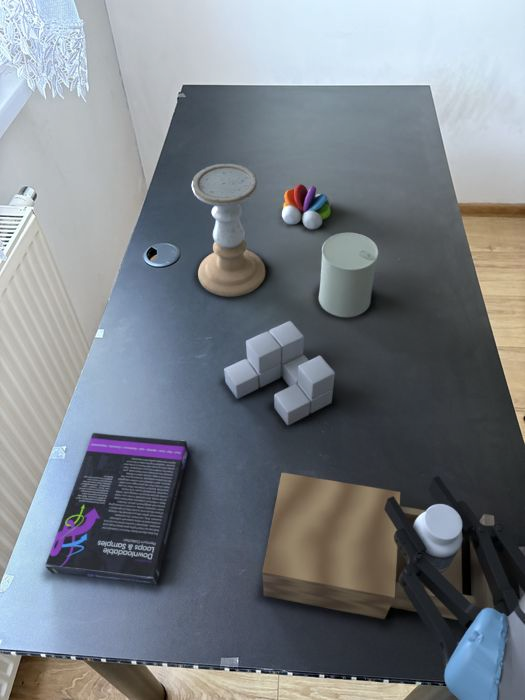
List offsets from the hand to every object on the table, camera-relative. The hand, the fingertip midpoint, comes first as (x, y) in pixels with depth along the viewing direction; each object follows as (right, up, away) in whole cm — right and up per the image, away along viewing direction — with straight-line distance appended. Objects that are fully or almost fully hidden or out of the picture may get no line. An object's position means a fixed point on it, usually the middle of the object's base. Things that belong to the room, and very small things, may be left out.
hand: (411, 493), depth 68 cm
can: (-2, +25, +37) cm, 45 cm away
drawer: (+5, -12, +5) cm, 14 cm away
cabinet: (-8, -10, +8) cm, 16 cm away
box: (-36, -5, +13) cm, 38 cm away
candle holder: (-23, +30, +42) cm, 56 cm away
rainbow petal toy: (-8, +43, +53) cm, 68 cm away
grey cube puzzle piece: (-15, +9, +25) cm, 30 cm away
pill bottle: (+2, -8, +2) cm, 8 cm away
